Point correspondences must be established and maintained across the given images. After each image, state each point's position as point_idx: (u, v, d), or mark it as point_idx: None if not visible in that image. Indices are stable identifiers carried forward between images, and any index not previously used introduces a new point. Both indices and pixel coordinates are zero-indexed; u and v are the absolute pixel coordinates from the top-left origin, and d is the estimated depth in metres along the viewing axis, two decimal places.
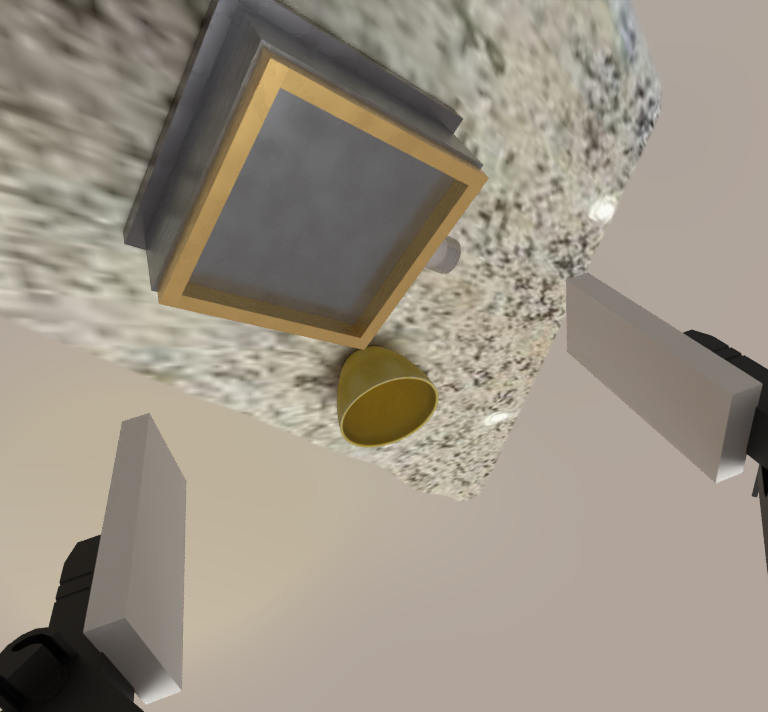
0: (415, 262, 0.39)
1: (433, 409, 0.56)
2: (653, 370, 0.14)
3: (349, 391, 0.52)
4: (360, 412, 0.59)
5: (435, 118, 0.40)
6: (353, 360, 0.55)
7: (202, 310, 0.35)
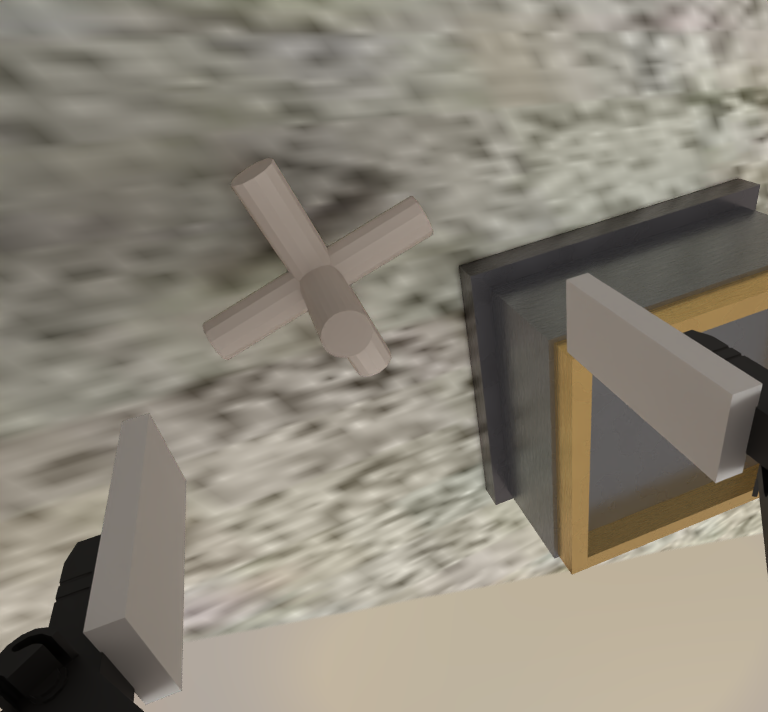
0: None
1: None
2: (653, 370, 0.14)
3: None
4: None
5: (727, 210, 0.32)
6: None
7: (611, 555, 0.33)
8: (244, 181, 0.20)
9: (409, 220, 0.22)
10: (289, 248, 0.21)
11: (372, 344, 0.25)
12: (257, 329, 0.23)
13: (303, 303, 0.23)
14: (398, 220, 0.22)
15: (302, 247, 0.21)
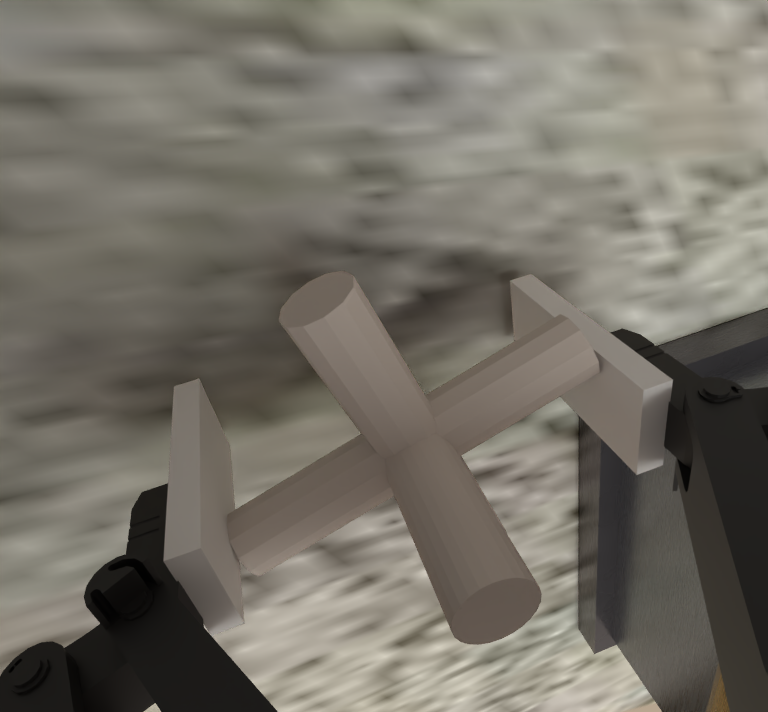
0: None
1: None
2: None
3: None
4: None
5: None
6: None
7: None
8: (306, 320, 0.11)
9: (566, 360, 0.14)
10: (375, 418, 0.13)
11: None
12: (315, 534, 0.14)
13: (389, 491, 0.14)
14: (547, 361, 0.14)
15: (396, 416, 0.13)
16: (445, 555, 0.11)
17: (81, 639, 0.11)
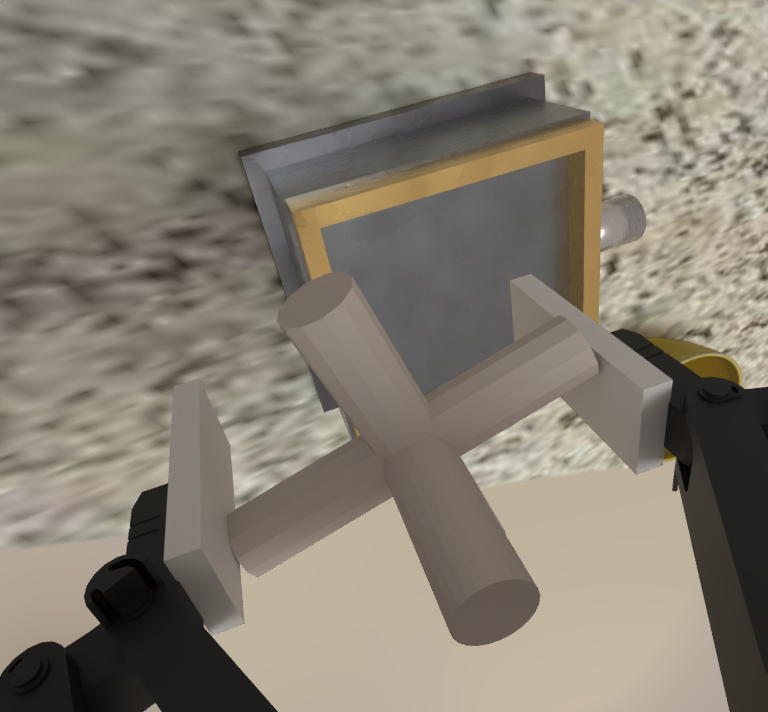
0: (585, 263, 0.31)
1: (739, 376, 0.43)
2: None
3: None
4: None
5: (513, 100, 0.33)
6: None
7: None
8: (304, 321, 0.11)
9: (565, 361, 0.14)
10: (374, 419, 0.13)
11: None
12: (314, 535, 0.14)
13: (388, 492, 0.14)
14: (546, 362, 0.14)
15: (395, 416, 0.13)
16: (443, 556, 0.11)
17: (81, 639, 0.11)
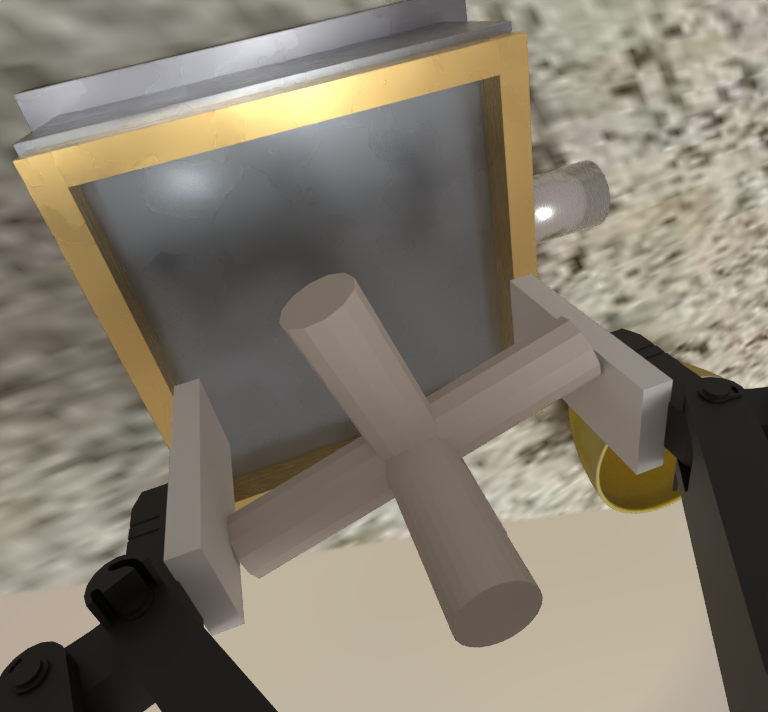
0: (514, 252, 0.21)
1: None
2: None
3: (587, 452, 0.33)
4: None
5: (421, 25, 0.23)
6: None
7: None
8: (307, 323, 0.11)
9: (567, 362, 0.14)
10: (376, 421, 0.13)
11: None
12: (316, 536, 0.14)
13: (390, 493, 0.14)
14: (548, 363, 0.14)
15: (397, 417, 0.13)
16: (446, 558, 0.11)
17: (81, 639, 0.11)
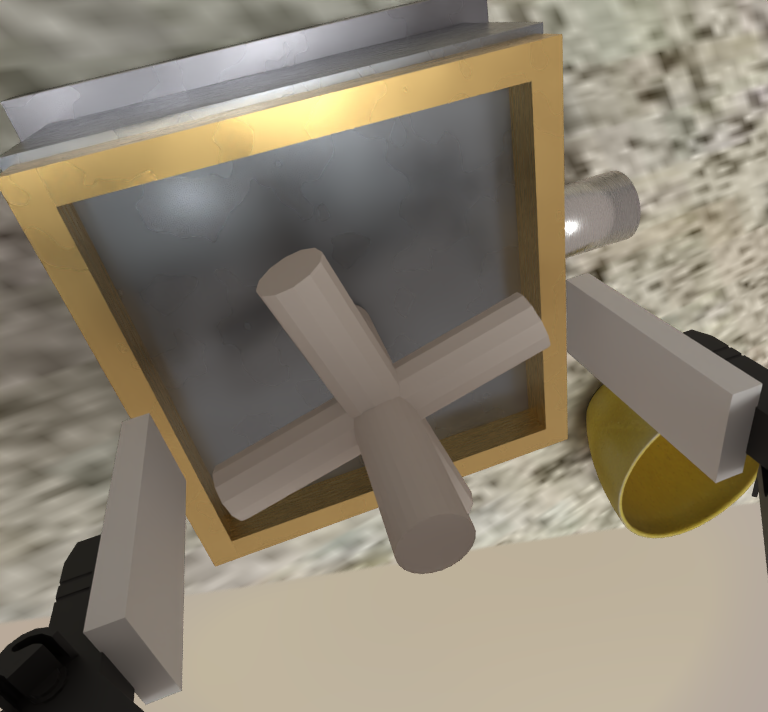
0: (542, 271, 0.20)
1: None
2: (653, 370, 0.14)
3: (608, 475, 0.32)
4: (654, 475, 0.37)
5: (439, 26, 0.22)
6: (592, 418, 0.35)
7: (277, 539, 0.22)
8: (278, 290, 0.13)
9: (518, 333, 0.15)
10: (342, 380, 0.14)
11: None
12: (291, 484, 0.16)
13: (358, 448, 0.16)
14: (501, 333, 0.15)
15: (361, 378, 0.14)
16: (394, 496, 0.12)
17: None
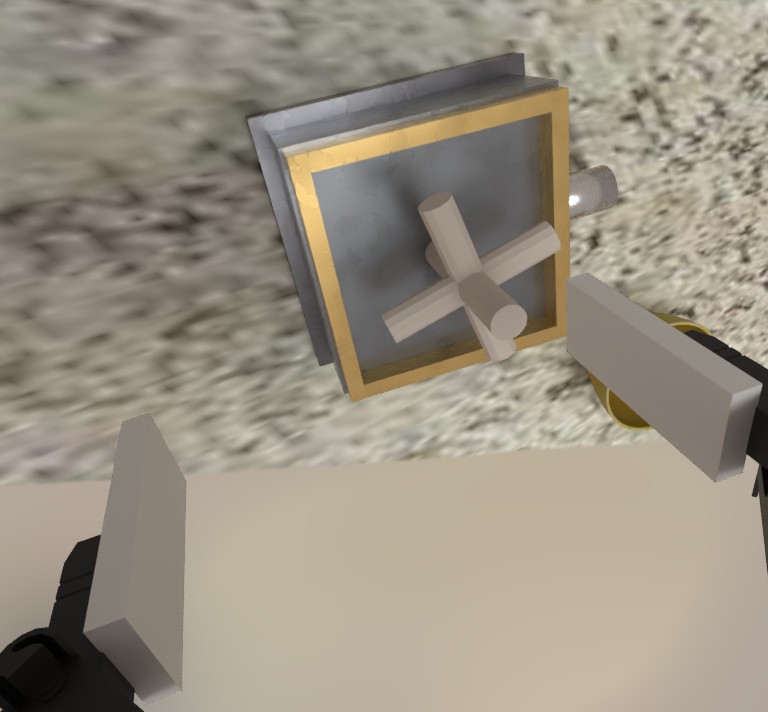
0: (556, 220, 0.34)
1: None
2: (653, 370, 0.14)
3: None
4: None
5: (495, 76, 0.36)
6: None
7: (389, 387, 0.37)
8: (432, 208, 0.27)
9: (544, 239, 0.29)
10: (456, 259, 0.28)
11: None
12: (424, 320, 0.30)
13: (459, 301, 0.30)
14: (535, 239, 0.29)
15: (466, 258, 0.28)
16: (488, 303, 0.26)
17: None
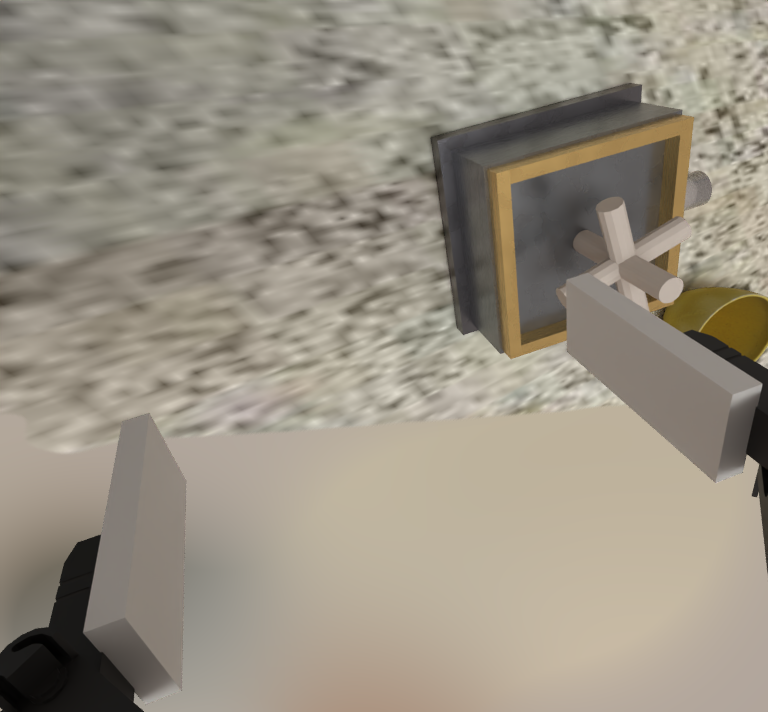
0: (673, 215, 0.44)
1: None
2: (653, 370, 0.14)
3: None
4: None
5: (619, 103, 0.46)
6: (669, 315, 0.59)
7: (539, 347, 0.47)
8: (611, 209, 0.37)
9: (680, 230, 0.40)
10: (621, 246, 0.39)
11: (645, 302, 0.42)
12: None
13: (618, 277, 0.40)
14: (674, 230, 0.40)
15: (628, 245, 0.39)
16: (654, 277, 0.37)
17: None
